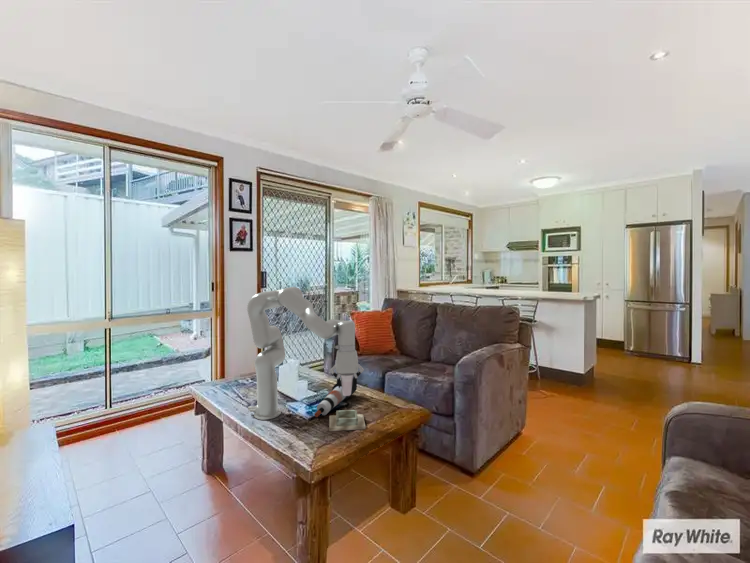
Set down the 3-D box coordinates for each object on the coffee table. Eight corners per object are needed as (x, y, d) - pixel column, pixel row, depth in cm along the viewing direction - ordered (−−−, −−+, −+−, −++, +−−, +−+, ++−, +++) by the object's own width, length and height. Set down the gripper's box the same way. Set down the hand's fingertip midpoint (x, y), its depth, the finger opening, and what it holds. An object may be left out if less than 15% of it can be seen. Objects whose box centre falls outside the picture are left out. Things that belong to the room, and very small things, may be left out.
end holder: (329, 430, 157) (329, 421, 157) (329, 418, 170) (329, 409, 170) (365, 428, 159) (365, 419, 159) (362, 416, 172) (362, 407, 172)
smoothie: (350, 391, 168) (350, 361, 167) (356, 395, 162) (356, 365, 161) (337, 393, 165) (337, 363, 164) (343, 398, 159) (343, 367, 158)
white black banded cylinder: (313, 427, 170) (303, 408, 170) (346, 395, 201) (337, 379, 201) (329, 421, 166) (319, 402, 166) (360, 390, 197) (351, 373, 197)
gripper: (327, 350, 158) (327, 390, 159) (366, 349, 160) (366, 388, 161) (327, 346, 165) (328, 384, 166) (364, 345, 167) (364, 382, 168)
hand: (346, 386), depth 163 cm, fingers closed on smoothie, 6 cm apart
